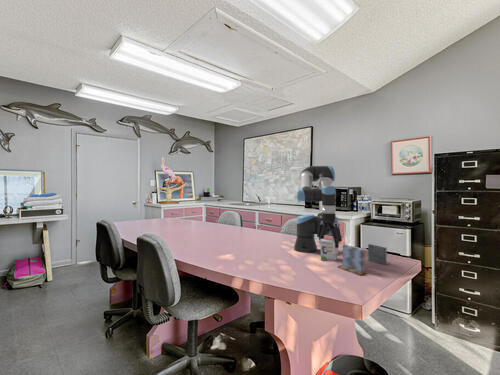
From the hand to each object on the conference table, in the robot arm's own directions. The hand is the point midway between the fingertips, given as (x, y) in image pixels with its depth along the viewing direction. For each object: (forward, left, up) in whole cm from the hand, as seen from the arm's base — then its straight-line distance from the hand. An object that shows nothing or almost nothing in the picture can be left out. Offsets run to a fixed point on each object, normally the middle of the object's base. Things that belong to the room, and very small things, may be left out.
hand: (328, 251), depth 151 cm
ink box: (0, 0, -5) cm, 5 cm away
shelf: (+19, +8, -5) cm, 21 cm away
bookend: (+19, +18, -4) cm, 27 cm away
